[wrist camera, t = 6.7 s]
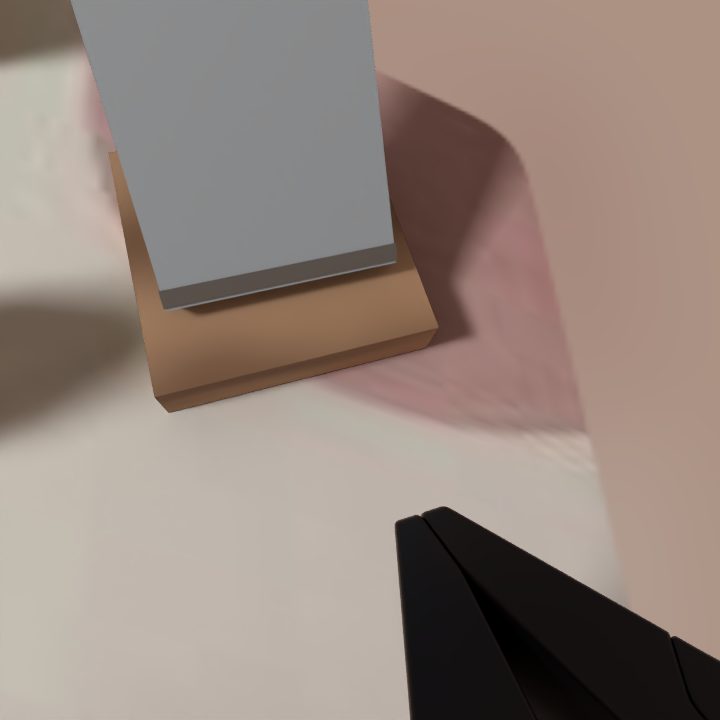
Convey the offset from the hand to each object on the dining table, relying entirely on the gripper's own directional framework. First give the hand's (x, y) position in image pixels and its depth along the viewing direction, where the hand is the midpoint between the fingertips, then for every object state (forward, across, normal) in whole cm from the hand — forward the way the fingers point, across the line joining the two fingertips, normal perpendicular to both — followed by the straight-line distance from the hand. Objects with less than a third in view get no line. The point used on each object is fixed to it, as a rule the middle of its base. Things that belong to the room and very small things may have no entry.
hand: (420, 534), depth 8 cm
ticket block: (+15, 0, -1) cm, 15 cm away
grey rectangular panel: (+13, 0, -1) cm, 13 cm away
